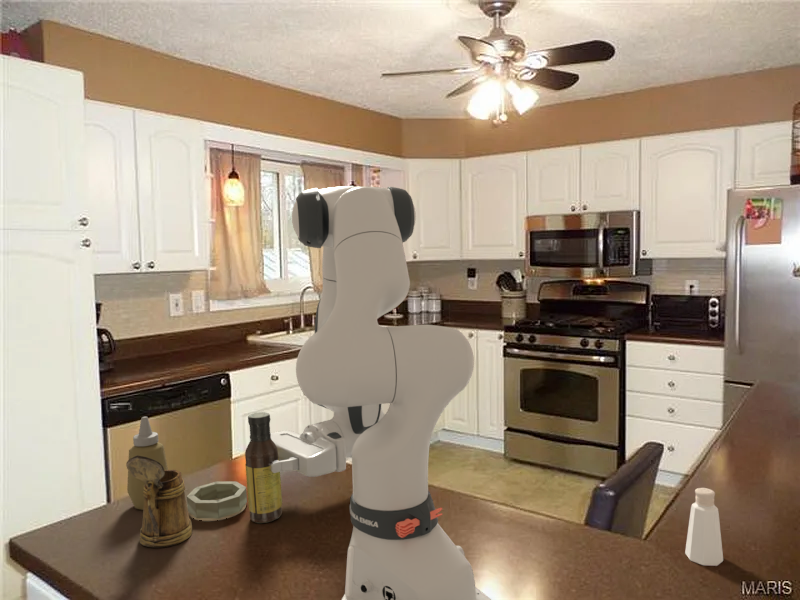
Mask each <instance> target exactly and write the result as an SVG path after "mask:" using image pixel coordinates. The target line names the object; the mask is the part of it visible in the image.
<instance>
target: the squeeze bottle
mask: <svg viewBox="0 0 800 600" xmlns="http://www.w3.org/2000/svg"><path fill="white" fill-rule="evenodd" d="M132 440H133V441H132V442H133V443H132V444H133V446H132V447H130V448H129V449H128V460H129V459H131V458H133V457H135V456H137V455H138V456H143V457H147V458H151V459H153V460H155V461H157V462H159V463H160V464H161V465H162V466H163V468H164V470H169V469H168V463H167V457H166V451H165V446H164V444H163V443H162V442H159V434H158V432H155V431H152V427H151V423H150V421H149V417H148V416H142V417H141V419H140V424H139V429H138V434H135V435H134V436H133V438H132ZM144 485H145V483H144V482H143V481H141V480H139V479H137V478H135V477H133V476H132V475H131V474H130V473H129V471H128V470H127V486H126V487H127V488H126V489H127V491H126V492H127V493H128V496H129V499H130V500H131V503H132V505H133V506H134V509H137V510H141V511H143V508H144V496H143V489H144Z"/></svg>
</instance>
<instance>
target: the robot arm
mask: <svg viewBox="0 0 800 600" xmlns="http://www.w3.org/2000/svg"><path fill="white" fill-rule="evenodd" d="M416 217H417V216H416V208H415V205H414V202H413V198H412V196H411V194H410V193H409V192H408V191H407V190H406V189H403V188H399V187H394V186H387V188H386V187H378V186H354V185H344V186H335V187H333V186H332V187H327V188H325V187H324V188H320V189H318V187H314V188H310V189H306V190H303V191H301V192H300V193H299V194H298V195H297V196H296V197H295V203H294V205H293V207H292V211H291V223H292V227H293V230H294V233H295V234H296V236H297V238H298V241H299V242H300V243H301V244H303V245H304V246H305V247H308V248H309V247H310V248H315V249H321V248H322V263H321V265H322V266H321V268H322V269H321V271H322V273H321V274H322V290H321V291H322V292H321V298H320V299H319V300H318V302H317V303H318V304H317V307H316V311H315V312H316V313H315V318H314V319H315V320H314V333H313V334H312V335H311V336H310V337H309V338H308V339H307V340H306V341H305V342H304V343H303V345H302V347H301V348H300V350H299V352H298V355H297V358H296V362H295V363H296V364H295V375H296V381H297V383H298V387H299V388H300V390H301V391H302V394H304V396H305V398H307V400H308V401H310V402H311V403H312V404H313V405H317V406H319V407H322V408H325V409H327V410H330V411H332V412H333V417H332V418H331V419H328V420H324V421H320V422H314V423H311V424H308V425H306V426H305V428H304V429H303V432H302V433H298V432H295V431H293V430H287V429H286V430H279V431H273V432H270V434H271V439H272V441H273V442H274V443H275V445H276V446H277V449H278V455H279V461H278V460H275V461H272V462H270V463H269V470H270V471H271V472H273V473H277V472H280V473H281V472H294V471H296V472H297V473H299V474H302V475H303V476H305V477H308V478H309V477H312V478H316V477H320V476H321V477H322V476H325V475H328V474H331V473H333V472H336V473H339V472H340V473H341V472H344V471H346V469H347V459H348V458H351V470H352V471H351V473H352V493H351V495H350V501H349V502H350V504H349V514H350V522H351V524H352V527H353V528H352V533H351V536H350V537H351V538H350V541H349V545H348V547H347V553H346V554H347V555H346V557H347V558H346V571H345V587H344V594H343V596H342V597H341V600H492V598H490V597H489V596H488V595H487V594H485V593H484V592H482V591H481V590H480V589H479V588H478V587H476V582H475V581H476V580H475V576H474V572H473V571H474V570H473V568H472V565H471V563H470V561H469V559H467V558H466V554H465V551H464V548H462V546H460V545H456V544H455V543H454V542H453V540H452V539H451V538H450V537H449V535H448V534H447V533H446V532H445V531H444V529H443V528H442V527H441V525H440V524H439V517H441V516H443V513H440V512H441V511H443V507H438V508H436V507H435V504H434V500H433V498H432V495H431V492H430V491H429V457H430V456H429V455H430V444H431V439H432V436H433V432H434V430H435V428H436V425H437V423H438V420H439V419H440V417H441V415H442V413H443V412H444V411H445V409H446V408H447V407H448V405H449V403H451V402H452V400H454V398H455V397H456V396H458V395H459V394H460V393H462V391H463V390H465V388H466V387H467V385H468V384H469V382H470V381H471V379H472V376H473V372H474V368H475V367H474V366H475V359H474V353H473V349H472V345H471V343H470V341H469V340H468V339H467V337H466V336H465V335H464V333H463V332H462V331H460V330H459V329H458V328H454V327H449V326H443V325H436V324H435V325H433V324H415V325H413V324H412V325H398V326H397V325H396V326H383V325H380V324H379V322H378V319H379V318H381V317H382V316H384V315H385V314H387V313H389V312H392V311H393V310H394V309H396V308H397V307H398V306H399V305H400V304H401V303H403V302H404V300H406V297H407V296H408V294H409V291H410V287H411V279H410V276H409V269H408V264H407V259H406V254H405V249H404V244H403V243H405V242H407V241H408V240H409V239H410V237H412V235H413V233H414V231H415V225H416V219H417V218H416ZM385 404H389V405H388V409H387V411H386V413H384V410H383V408H382V405H385Z"/></svg>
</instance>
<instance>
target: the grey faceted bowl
mask: <svg viewBox="0 0 800 600" xmlns="http://www.w3.org/2000/svg"><path fill="white" fill-rule="evenodd" d="M247 502H248V492H247V486H245V485H243V484H241V483H239V482H238V481H231V480H230V481H229V480H228V481H213V482H210V483H207V484H206V483H205V484H202V485H200V486H199V485H198V486H196V487H195V488H194V489H192V490H191V491H190V493H189V494H187V496H186V503H187V508H188V514H189V518H190V519H193V518H194V519H193V520H194V521H195V520H196V521H199V520H202V521H201V522H216V521H217V520H218V521H223V520H226V518H227V519H230V518H232V517H235V516H237V515H239V514H241V513H243V511H244V510H245V509H246V507H247V504H248V503H247Z"/></svg>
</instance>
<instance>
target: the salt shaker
mask: <svg viewBox="0 0 800 600" xmlns="http://www.w3.org/2000/svg"><path fill="white" fill-rule="evenodd" d="M694 493H695V502H693V503H692V504H691V506H690V513H689V520H688V528H687V535H686V542H685V543H686V544H685V551H684V554H685V555H686V556H687V557H688V560H689V561H690V562H693V563H696V564H699V565H701V566H710V567H714V566H715V567H717V566H719V565H721V563H723V561H724V555H723V543H722V535H721V524H720V514H719V508H718V507H717V506H716V505H715V495H716V492H715V491H714V490H713V489H711V488H706V487H698V488H695V490H694Z"/></svg>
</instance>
